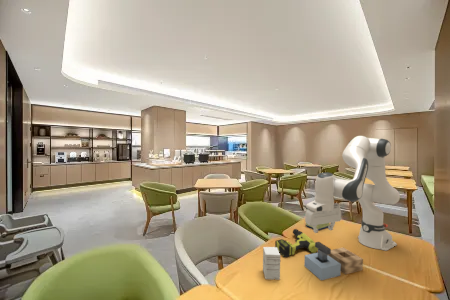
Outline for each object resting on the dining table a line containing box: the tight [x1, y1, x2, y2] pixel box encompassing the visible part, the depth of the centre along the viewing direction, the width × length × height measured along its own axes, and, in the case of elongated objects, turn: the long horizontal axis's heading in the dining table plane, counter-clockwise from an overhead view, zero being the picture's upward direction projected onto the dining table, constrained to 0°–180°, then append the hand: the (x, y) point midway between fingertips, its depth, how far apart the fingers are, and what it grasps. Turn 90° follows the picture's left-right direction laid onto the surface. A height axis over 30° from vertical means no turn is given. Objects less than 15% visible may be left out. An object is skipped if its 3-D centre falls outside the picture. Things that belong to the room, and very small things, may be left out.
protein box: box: [305, 207, 330, 232], centre depth 163 cm, size 10×16×16 cm
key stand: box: [327, 247, 364, 275], centre depth 113 cm, size 12×12×6 cm
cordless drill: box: [274, 228, 318, 258], centre depth 134 cm, size 7×25×25 cm
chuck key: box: [314, 241, 332, 263], centre depth 108 cm, size 8×3×13 cm, turn 19°
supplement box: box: [262, 246, 281, 280], centre depth 104 cm, size 7×7×13 cm
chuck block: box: [303, 252, 342, 281], centre depth 108 cm, size 12×12×6 cm
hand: (323, 231), depth 107 cm, fingers open, 8 cm apart
